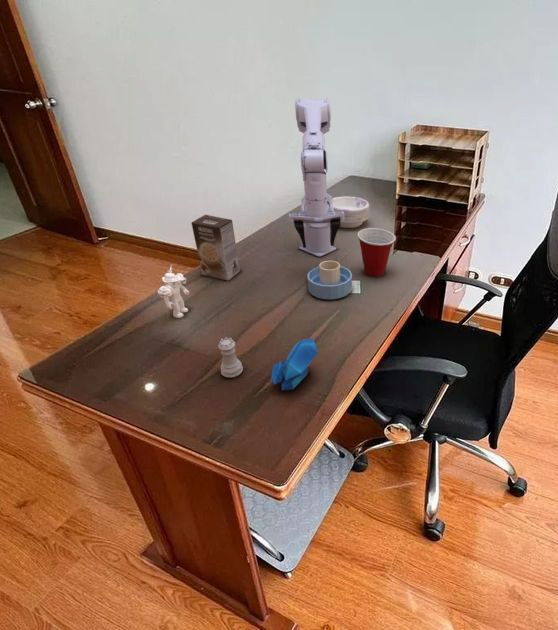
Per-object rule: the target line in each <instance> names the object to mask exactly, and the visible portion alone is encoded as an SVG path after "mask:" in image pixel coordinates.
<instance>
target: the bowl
mask: <svg viewBox="0 0 558 630" xmlns="http://www.w3.org/2000/svg"><path fill="white" fill-rule="evenodd" d="M306 277H307V290H308V292H309V294H310V295H311V296H313V297H315V298H317V299H322V300H337V299H342V298H344V297H346V296H348V295H350V293H351V292H352V290H353V273H352V270H350V269H349V268H347V267H345V266H342V265H340V284H338V285H320V272H319V266H316V267H314V268H312V269H310V270H309V272H308V273H307V276H306Z"/></svg>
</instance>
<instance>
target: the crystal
mask: <svg viewBox="0 0 558 630" xmlns="http://www.w3.org/2000/svg"><path fill="white" fill-rule="evenodd" d="M318 353H319V352H318V349H317V345H316V342H315V339H314V338H305V339H300V341H298V342H297V343H295V344H294V345H293V347H292V349H291V350H290V352H289V354H288V356H287V357H286V359H285V361H284V363H283V361H279V362H277V363H275V364H273V366H272V372H271V377H270V380H271V381H272V382H273V384H274V385H277V384H278V383H280V385H281V391H293V390H294V389H295V388H297V386H298V385H299V384H300V383H301V382H302V380H304V378H306V377H307V375H308V367H309V366H310V364H311V363H312V361H313V360H314V359H315V357H316V356H317V355H318Z"/></svg>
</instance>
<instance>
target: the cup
mask: <svg viewBox="0 0 558 630" xmlns="http://www.w3.org/2000/svg"><path fill="white" fill-rule="evenodd" d="M340 266H341V263H339V262H338V261H336V260H324V261H322V262H320V263H319V264H318V267H319V272H320V285H338V284H340Z"/></svg>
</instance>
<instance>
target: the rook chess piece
mask: <svg viewBox="0 0 558 630" xmlns="http://www.w3.org/2000/svg"><path fill="white" fill-rule="evenodd" d="M235 346H236V342H235V341H234V340H233V339H232V337H227V336H226V337H224V338H221V339H220V341H219V344H218V346H217V347H218V349H219V350H220V354H221V355H222V362H221V365H220V374H221V375H222V376H223V377H225V378H229V379H232V378H236V377H239V376H240V375H241V374H242V372H243V370H244V366H243V363H242V362H241V360H239V358H238V357H237V355H236V348H235Z"/></svg>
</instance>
